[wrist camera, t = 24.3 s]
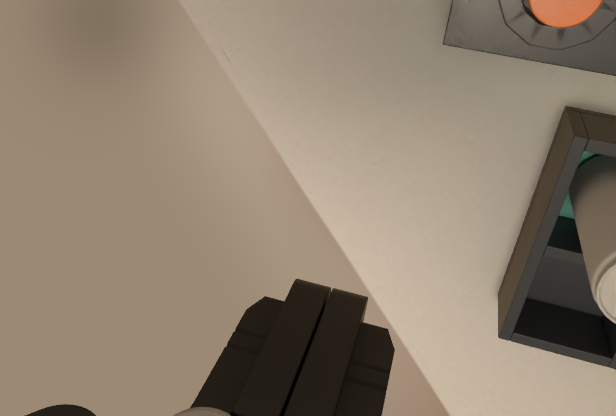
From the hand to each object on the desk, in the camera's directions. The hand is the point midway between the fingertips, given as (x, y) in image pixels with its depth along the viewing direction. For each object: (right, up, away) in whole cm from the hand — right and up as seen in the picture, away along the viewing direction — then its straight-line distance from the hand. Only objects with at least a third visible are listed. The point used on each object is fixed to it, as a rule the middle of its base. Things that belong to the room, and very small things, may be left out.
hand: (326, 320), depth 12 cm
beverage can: (+19, +4, +26) cm, 32 cm away
